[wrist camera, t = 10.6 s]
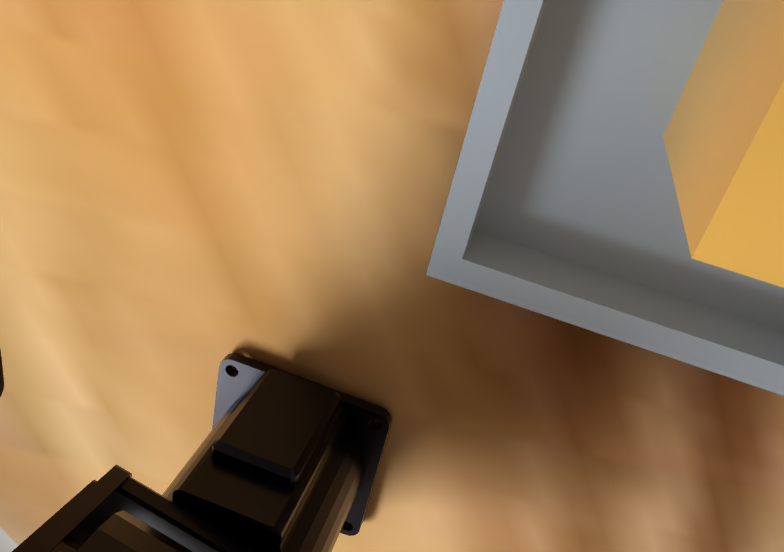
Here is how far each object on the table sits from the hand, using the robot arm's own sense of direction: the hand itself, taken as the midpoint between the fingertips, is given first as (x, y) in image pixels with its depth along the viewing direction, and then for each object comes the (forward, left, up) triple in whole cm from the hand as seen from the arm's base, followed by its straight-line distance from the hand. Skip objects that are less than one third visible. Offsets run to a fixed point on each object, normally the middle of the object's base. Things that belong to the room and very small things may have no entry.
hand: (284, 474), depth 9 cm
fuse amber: (+5, -6, -11) cm, 14 cm away
